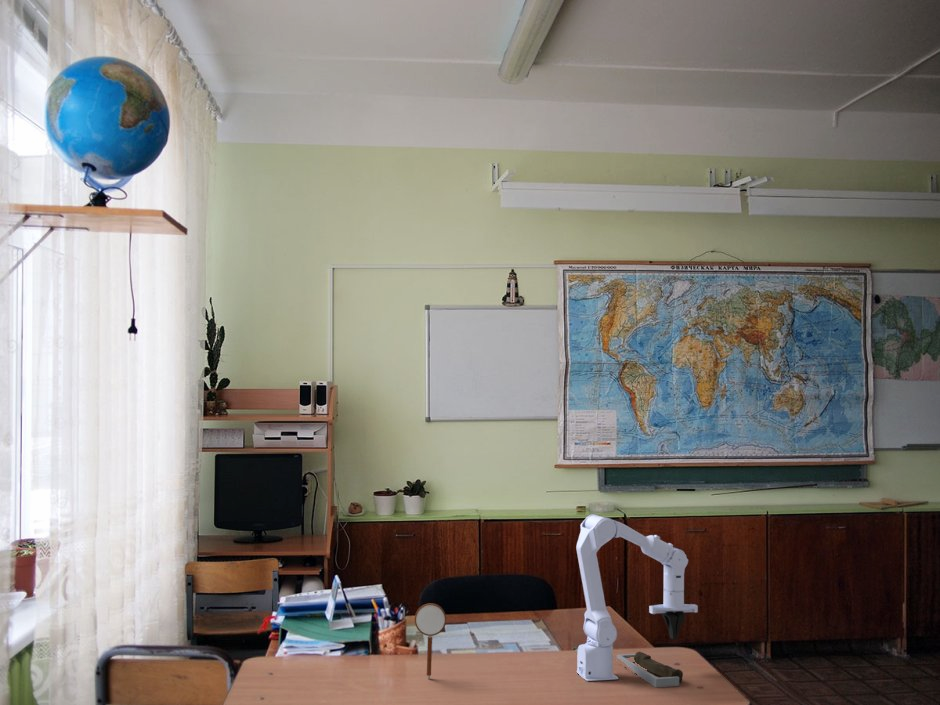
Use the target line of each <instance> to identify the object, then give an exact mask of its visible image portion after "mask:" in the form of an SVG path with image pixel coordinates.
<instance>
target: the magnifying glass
mask: <svg viewBox="0 0 940 705" xmlns="http://www.w3.org/2000/svg"><path fill="white" fill-rule="evenodd" d="M414 624H415V627H416V629H417V630H418V631H419V632H420V633H421V634H422V635H424V636H427V647H426V648H427V649H426V650H427V651H426V652H427V653H426V655H427V657H426V676H427V679H428V680H429V679H431V676H432V660H433V659H432V658H433V657H432V653H433V652H432V650H433V637H432V636H436V635H438V634H440V633H441V632H442V631H443V630H444V628H445V627H446V624H447V615H446V612H445V610H444V609H443V607H442V606H440V605H439V604H436V603H429V602H428V603H426V604H423V605H421V606H420V607H419V608H418V609H417V611H416V612H415V615H414Z"/></svg>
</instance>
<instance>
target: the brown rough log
mask: <svg viewBox="0 0 940 705" xmlns="http://www.w3.org/2000/svg"><path fill="white" fill-rule="evenodd" d="M634 654H635V657H634V660H635V662H636V663H637V664H639V665H640V666H641V667H643V668H645V669H647V670H648V671H647V672H649V673H651V674H653V675H654V674H655V675H657V677H659V678H660V677H676V676H678V677H679V684H681V683H682V682H683V676H684V673H683V671H682V670H681V669H677V668H673V667H671V666H670V665H667V664H666V665H665V664H664V663H661V662H659V661H656V660H655V659H653V658H652V657H651V655H649V654H646V653H644V652H642V651H637V652H636V653H634ZM635 662H634V663H635Z"/></svg>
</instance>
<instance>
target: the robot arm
mask: <svg viewBox="0 0 940 705" xmlns="http://www.w3.org/2000/svg"><path fill="white" fill-rule="evenodd" d="M579 532H580V533H579V535H578V539H577V542H576V547H575V548H576V554H577V559H578V565H579V572H580V578H581V582H582V588H583V595H584V601H585V605H586V606H585V607H586V611H585V612H584V614H583V615H584V622H583V627H582V628H583V632H584V634H585V636H586V637H587V638H586V642H585V643H581V644H579V645H578V647H577V650H576V651H577V654H576V656H577V657H576V662H577V663H576V665H577V666H576V668H577V669H576V672H577V673H578V674H579V675H578V674H577V673H576V672H575V673H576V674H577V675H578V676H579V677H581V678H582V679H584V680H585V681H587V682H594V681H595V682H597V681H609V680H610V681H611V680H618V679H619V677H618V676H617V675H615V674H614V673H613V668H614V666H613V664H614V663H613V660H614V643H615V641H616V640H617V637H618V632H617V631H618V630H617V628H616V626H615V625H614V622H613V620H612V617H611V614H610V613H609V611H608V609H607V606H606V600H605V595H604V589H603V584H602V576H601V572H600V567H599V562H598V561H599V560H598V557H597V554H598V551H599V550H600V549H601V547H602V546H604V545H605V544H607V543H608V542H609V541H610V540H612V539H613V538H616V539H617V538H621V539H622V538H623V539H624V540H626V541H629V542H630V543H633V544H635V545H636V546H639V547H640V549H641V552H642V553H643V555H647V557H650V558H652V559H654V560H656V561H657V562H659V563H661V565H663V600H662V601H663V602H662V603H663V604H654V605H649V606H648V607H649V609H648V610H649V611H648V613H650V614H652V615H656V614H661V616H662V618H663V619H664V622H665V624H666V627H667V632H668V635H669V639H671V640H678V637H679V634H680V629H681V627H682V624H683V622H684V620H685V619H686V614H685V613H698V611H699V610H698V608H699V607H698V606H699V605H697V604H695V603H694V604H693V603H690V604H688V603H687V604H686V603H685V569H686V567H687V565H688V563H689V559H688V558H687V554H685V551H684V550H682V549H679V548H677V547H674V544H672V543H670V542H668V543H667V542H666V541H663V540H662V539H661V536H659V535H658V534H654V535H653V534H651V535H647V536H645V535H644V534H641V533H640V532H638V531H636V530H634V529H633V528H631V527H630V526H628V525H626V524H624V523H622V522H620V521H617V520H614V519H612V518H610V517H604V516H600V515H597V514H593V513H591V514H590V515H588V516H586V517H585V519H584V520H583V521H582V522H581V523H580V531H579Z"/></svg>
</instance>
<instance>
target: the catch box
mask: <svg viewBox="0 0 940 705" xmlns="http://www.w3.org/2000/svg"><path fill="white" fill-rule="evenodd" d="M635 654H636V653H626V654H625V653H624V654H616V659H617V658H618V659H620V660H621V661H622V662H624V663H625V664H626V665H627V666H628V667H630V668H631V669H632V670H633V671H634V672H635V673H637V674H638V675H639V676H640V677H642V678H643V679H644V680H643V679H642V678H641V679H642V680H643V681H646V682H647V683H648V684H650V685H651V686H653V687H654V688H667V687H680V683H679V677H678V676H676V677H660V676H659V677H658V676H655V675H654V674H653V673H652V672H650V671H646V670H644V669H642V668H641V667H639V666H638V665H636V664H635V662H634V663H633V662H631V661H629V660H628V659H626V658H630V657H635ZM639 676H638V677H639ZM640 677H639V678H640Z"/></svg>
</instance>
